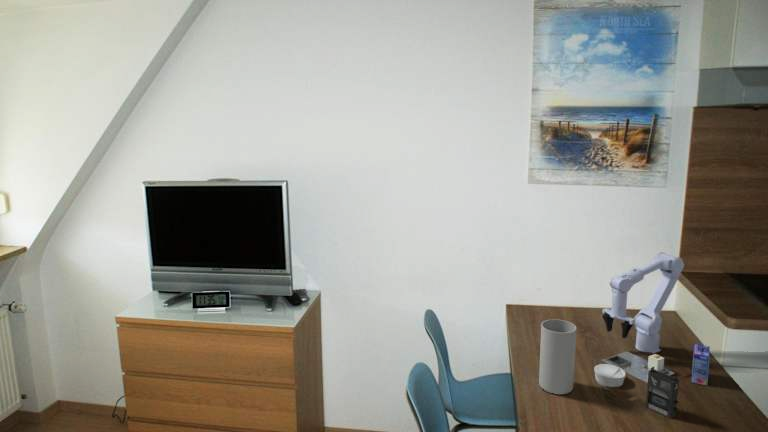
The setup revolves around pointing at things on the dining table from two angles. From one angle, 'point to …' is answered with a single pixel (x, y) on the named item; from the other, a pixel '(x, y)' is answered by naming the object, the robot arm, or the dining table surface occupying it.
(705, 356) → the ink cartridge box
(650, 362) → the plug
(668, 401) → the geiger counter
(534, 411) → the dining table surface
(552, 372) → the cylinder vase
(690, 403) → the dining table surface
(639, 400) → the dining table surface
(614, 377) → the ramekin
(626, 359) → the switch plate
